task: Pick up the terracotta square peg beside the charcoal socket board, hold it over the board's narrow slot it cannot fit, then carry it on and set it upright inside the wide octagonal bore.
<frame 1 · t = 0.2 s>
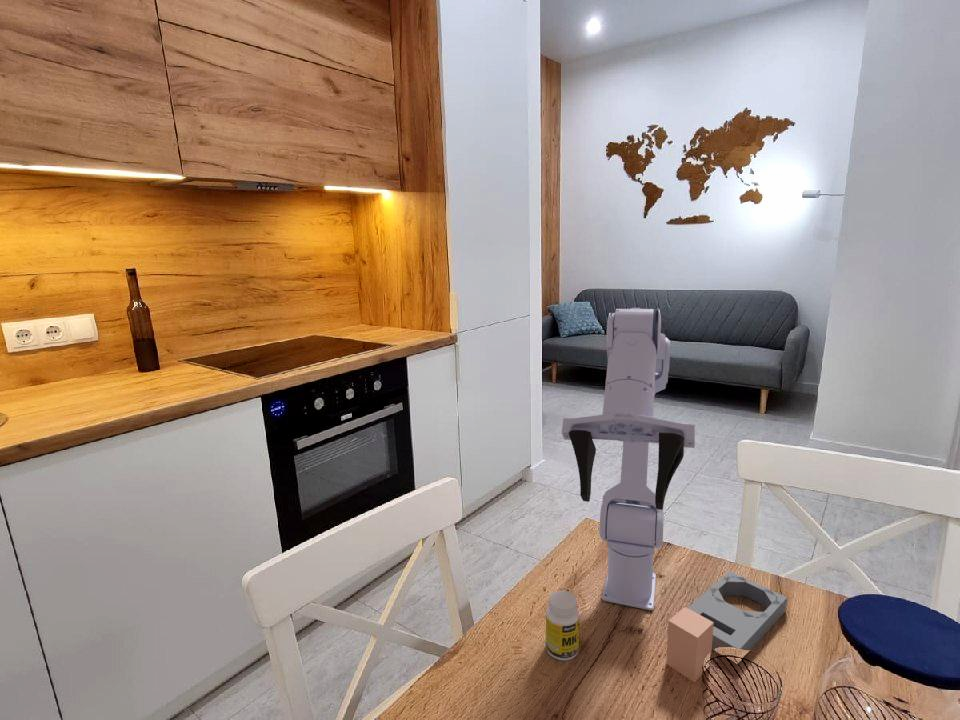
hand: (621, 502, 55), 31 cm above the table, tool tilted 45°, fingers open, 7 cm apart
socket board: (732, 620, 80), on the table
supplement bottle: (562, 650, 76), on the table
peg: (688, 664, 72), on the table
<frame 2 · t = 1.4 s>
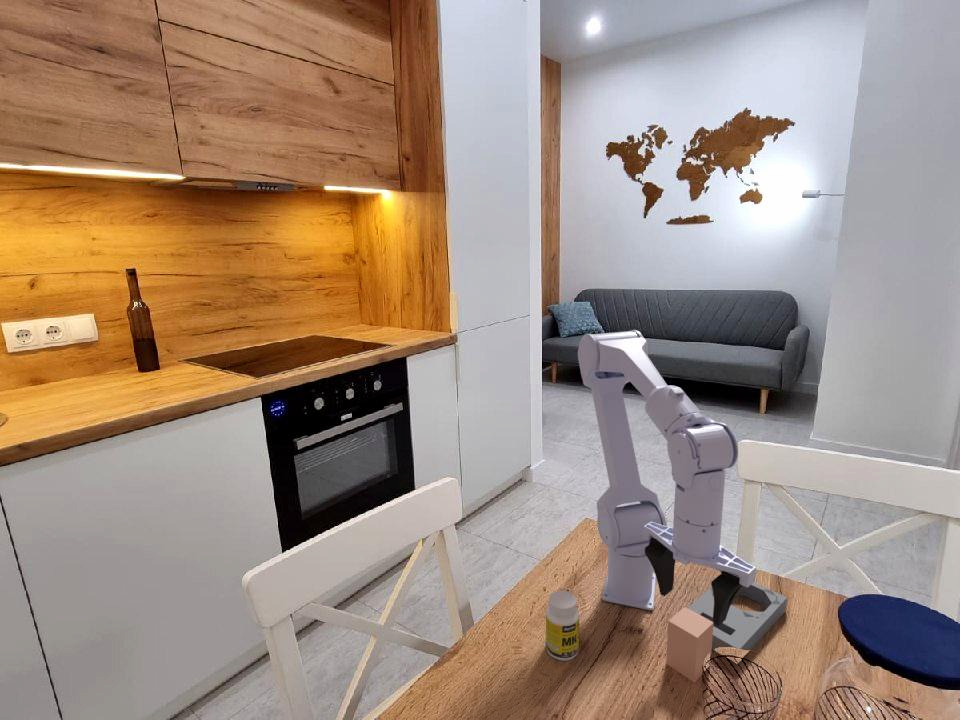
hand: (691, 606, 70), 9 cm above the table, tool pointing down, fingers open, 7 cm apart
nothing on the table moved.
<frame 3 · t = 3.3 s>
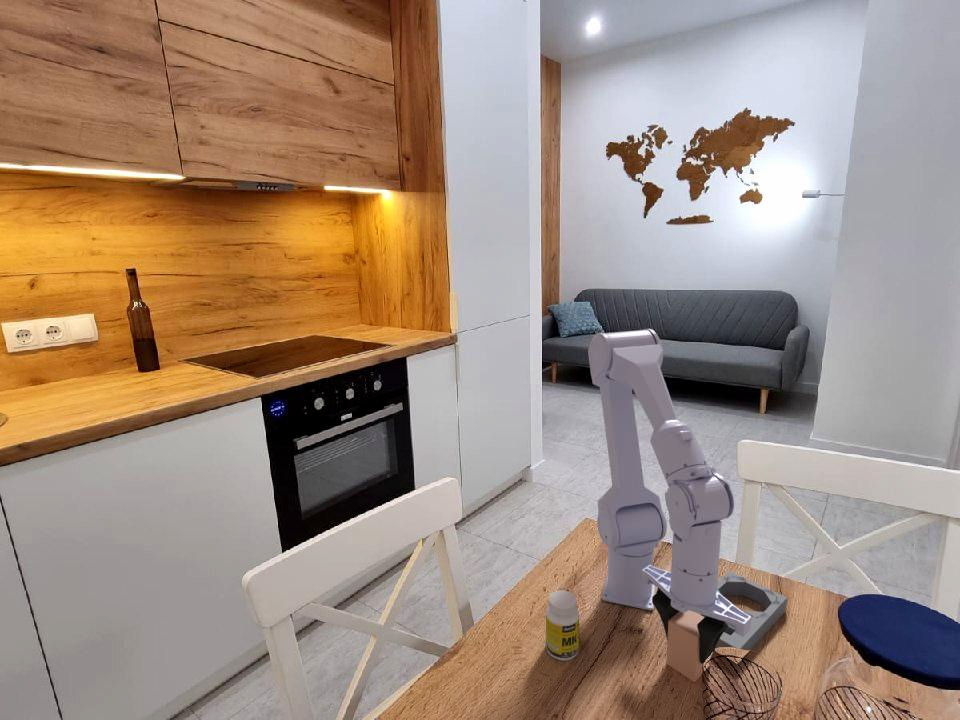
hand: (689, 649, 72), 2 cm above the table, tool pointing down, fingers closed on peg, 4 cm apart
peg: (688, 664, 72), on the table, touching gripper
everything else where it was.
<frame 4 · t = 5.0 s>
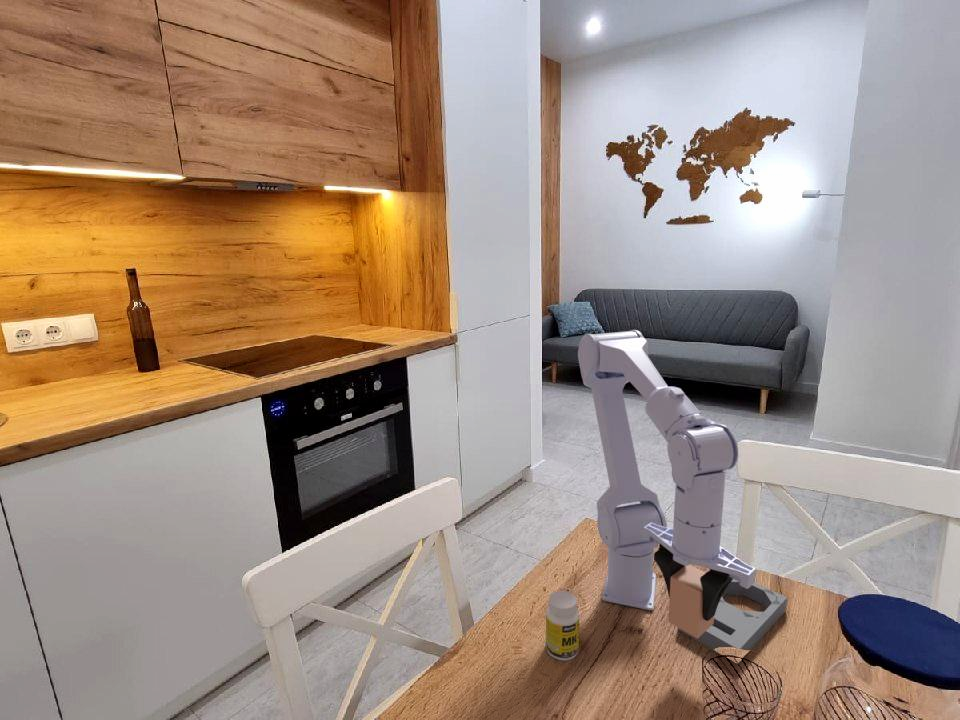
hand: (691, 607, 70), 9 cm above the table, tool pointing down, fingers closed on peg, 4 cm apart
peg: (690, 622, 71), point 7 cm above the table, touching gripper
everything else where it was.
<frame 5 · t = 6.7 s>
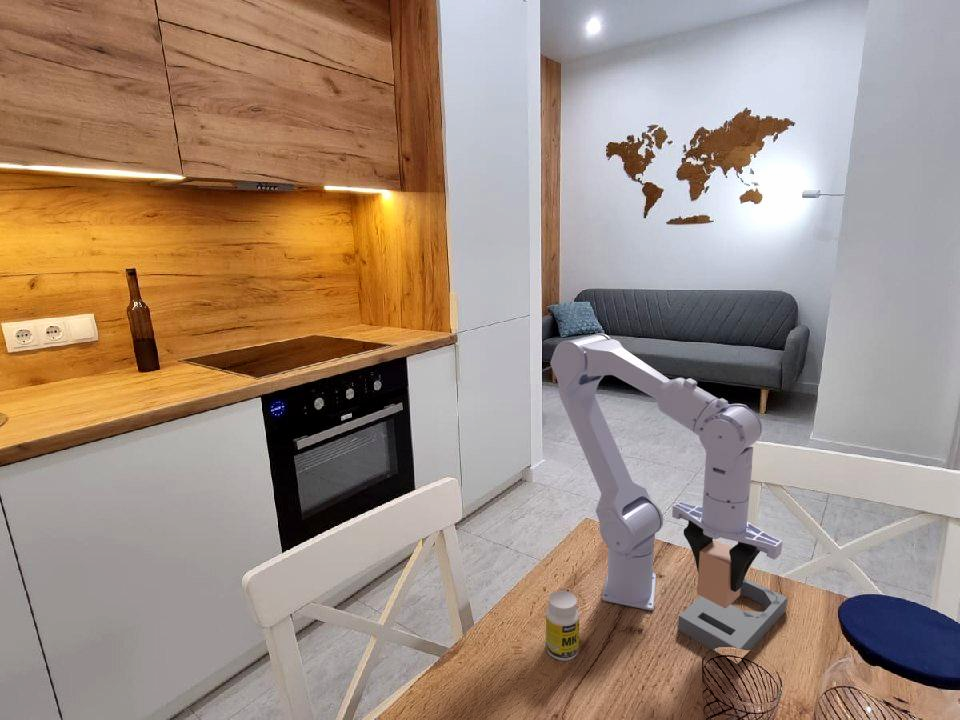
hand: (719, 579, 75), 10 cm above the table, tool pointing down, fingers closed on peg, 4 cm apart
peg: (718, 594, 75), point 7 cm above the table, touching gripper
everything else where it was.
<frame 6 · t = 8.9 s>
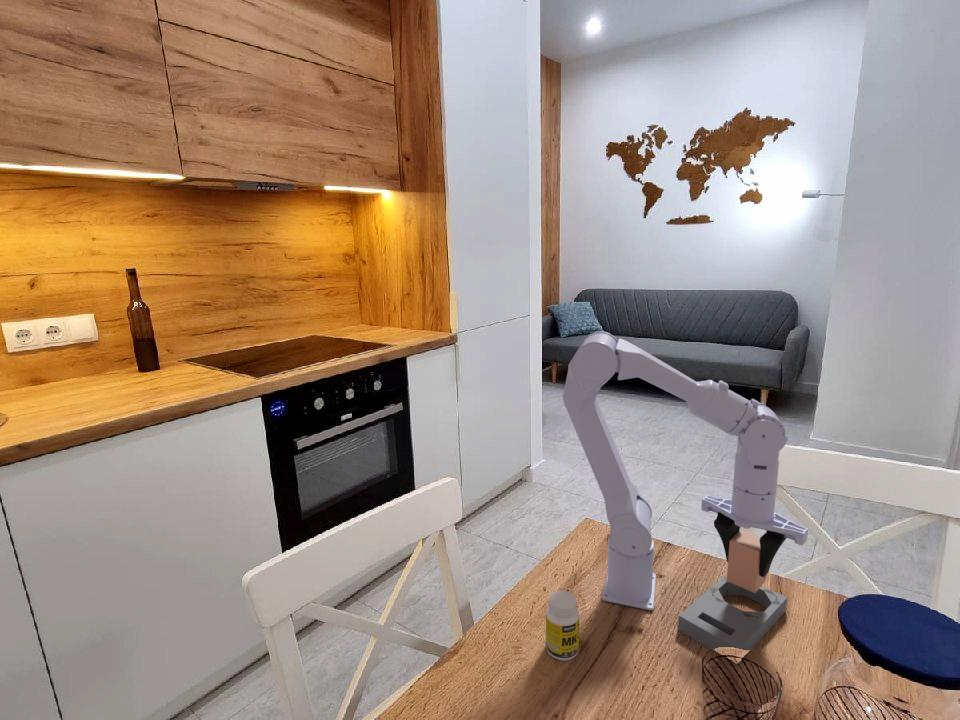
hand: (747, 566, 81), 8 cm above the table, tool pointing down, fingers closed on peg, 4 cm apart
peg: (746, 580, 81), point 5 cm above the table, touching gripper
everything else where it was.
when the fingers open (4 cm above the table, at t = 10.6 s): peg drops 1 cm, resting in socket board.
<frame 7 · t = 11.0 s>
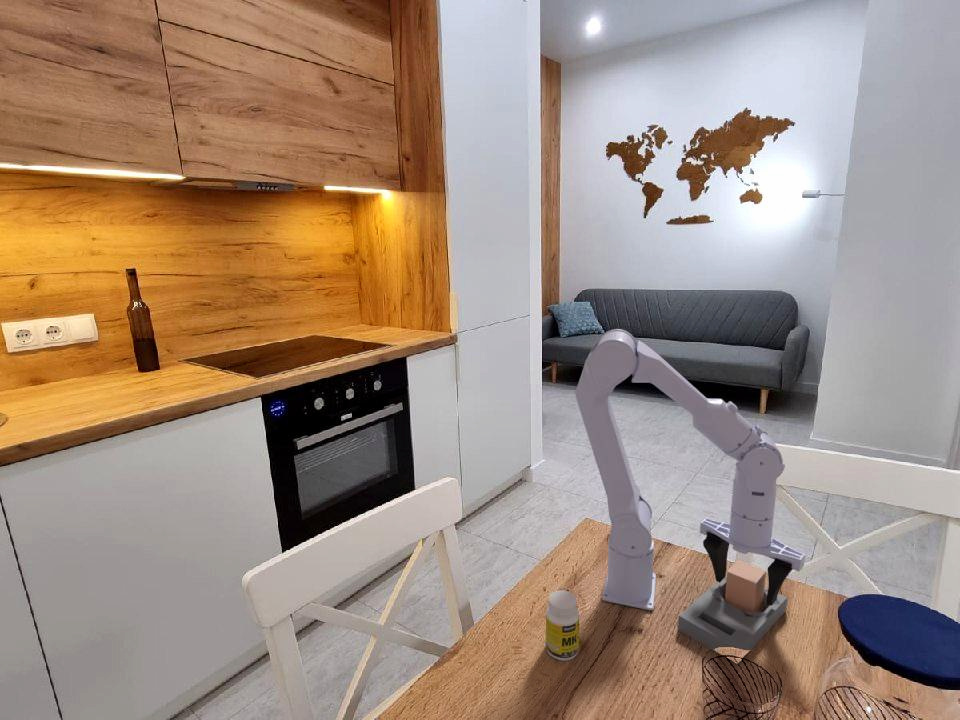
hand: (745, 589, 82), 4 cm above the table, tool pointing down, fingers open, 7 cm apart
peg: (743, 610, 82), resting in socket board
everything else where it was.
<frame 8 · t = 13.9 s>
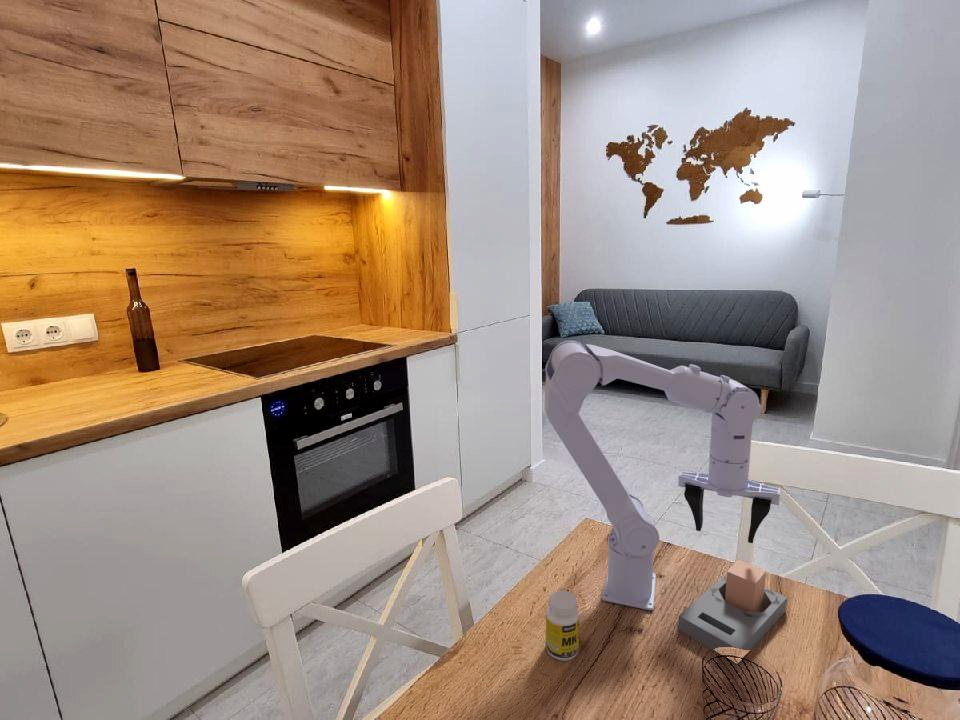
hand: (724, 533, 85), 10 cm above the table, tool pointing down, fingers open, 7 cm apart
nothing on the table moved.
at the end: peg 0.1 cm from the target spot on the socket board, point 0.0 cm above the socket board's base; peg tilted 0°; the gripper is holding nothing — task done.
